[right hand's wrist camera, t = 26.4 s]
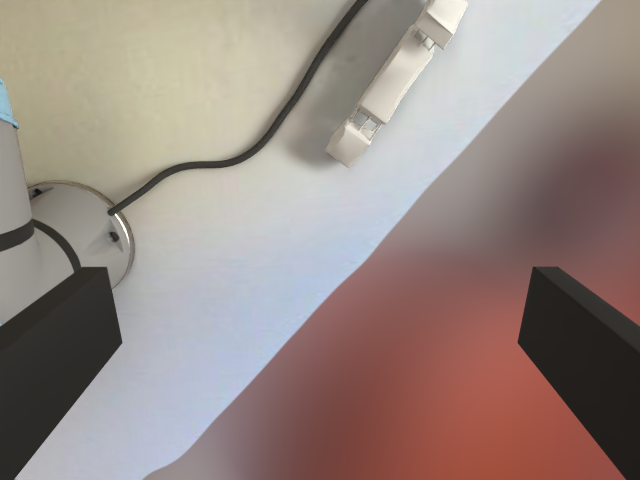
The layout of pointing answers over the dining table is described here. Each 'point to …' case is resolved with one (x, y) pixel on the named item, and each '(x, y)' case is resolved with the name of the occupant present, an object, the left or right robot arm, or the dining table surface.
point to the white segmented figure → (397, 77)
